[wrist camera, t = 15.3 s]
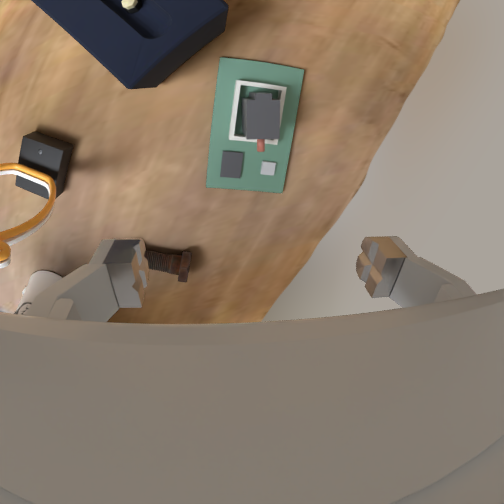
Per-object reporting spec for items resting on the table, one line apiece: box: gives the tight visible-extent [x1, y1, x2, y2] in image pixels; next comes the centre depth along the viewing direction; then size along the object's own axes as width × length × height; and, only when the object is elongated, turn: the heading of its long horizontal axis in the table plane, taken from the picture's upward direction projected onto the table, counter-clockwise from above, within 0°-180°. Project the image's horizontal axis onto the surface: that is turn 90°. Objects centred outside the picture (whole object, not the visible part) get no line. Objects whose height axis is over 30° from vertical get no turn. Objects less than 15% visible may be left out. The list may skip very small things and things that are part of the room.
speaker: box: [32, 0, 228, 89], centre depth 21 cm, size 22×13×15 cm, turn 39°
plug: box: [242, 92, 280, 152], centre depth 35 cm, size 8×4×7 cm, turn 0°
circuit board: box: [206, 57, 304, 193], centre depth 38 cm, size 20×12×3 cm, turn 172°
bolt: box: [144, 250, 192, 282], centre depth 47 cm, size 6×5×15 cm
